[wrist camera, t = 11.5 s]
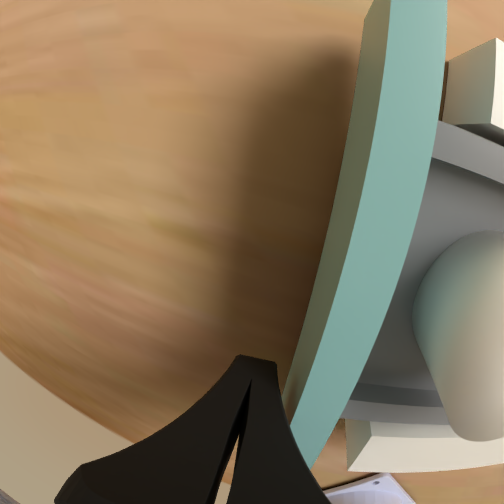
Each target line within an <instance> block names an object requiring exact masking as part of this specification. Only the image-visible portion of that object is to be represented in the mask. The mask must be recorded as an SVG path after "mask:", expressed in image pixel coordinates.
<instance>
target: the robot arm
mask: <svg viewBox="0 0 504 504" xmlns="http://www.w3.org/2000/svg"><path fill="white" fill-rule="evenodd" d="M238 436H239V440H238V447H237V453H236V460H235V467H234V473H233V479H232V484H231V489H230V492H229V496H228V500H227V503H226V504H416V503H415V502H414V501H413V499H412V498H411V497H410V496H409V495H408V494H407V493H406V492H405V490H404V489H403V488H402V487H401V486H400V485H399V484H398V482H397V481H396V480H395V479H394V478H393V477H392V476H391V474H389V473H386V472H383V473H379V474H377V475H374V476H371V477H368V478H365V479H362V480H359V481H356V482H353V483H349V484H346V485H343V486H339V487H336V488H332V489H328V490H324V491H322V489H321V487H320V486H319V484H318V483H317V481H316V479H315V478H314V476H313V475H312V473H311V471H310V470H309V468H308V466H307V464H306V462H305V460H304V458H303V456H302V454H301V452H300V450H299V448H298V445H297V443H296V441H295V438H294V436H293V433H292V431H291V428H290V425H289V422H288V419H287V416H286V413H285V409H284V406H283V402H282V398H281V394H280V389H279V383H278V376H277V364H276V363H275V362H273V361H268V360H263V359H259V358H254V357H250V356H245V355H241V354H240V355H238V356H236V358H235V360H234V361H233V363H232V364H231V366H230V367H229V368H228V370H227V371H226V372H225V373H224V375H223V376H222V377H221V378H220V379H219V380H218V381H217V383H216V384H215V385H214V386H213V387H212V388H211V389H210V390H209V391H208V392H207V393H206V394H205V395H204V396H203V397H202V398H201V399H200V400H198V401H197V402H196V403H195V404H194V405H193V406H192V407H191V408H190V409H188V410H187V411H186V412H185V413H183V414H182V415H181V416H179V417H178V418H177V419H175V420H174V421H173V422H171V423H170V424H168V425H167V426H165V427H164V428H162V429H161V430H159V431H157V432H156V433H154V434H153V435H151V436H149V437H147V438H146V439H144V440H142V441H140V442H138V443H136V444H134V445H132V446H129V447H128V448H125V449H123V450H121V451H119V452H116V453H114V454H111V455H109V456H106V457H103V458H100V459H97V460H95V461H91V462H88V463H85V464H82V465H80V467H78V468H77V469H76V471H74V473H73V474H72V475H71V476H70V477H69V478H68V479H67V480H66V482H65V483H64V485H63V486H62V488H61V490H60V491H59V493H58V494H57V496H56V497H55V499H54V503H55V504H214V503H215V499H216V496H217V492H218V489H219V486H220V483H221V480H222V477H223V474H224V471H225V469H226V466H227V464H228V461H229V459H230V456H231V454H232V451H233V449H234V446H235V443H236V441H237V438H238ZM0 504H20V503H18V502H17V501H15V500H14V499H13V498H11V497H10V496H9V495H7V494H6V493H5V492H4V491H2V490H1V489H0Z"/></svg>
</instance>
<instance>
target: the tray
mask: <svg viewBox="0 0 504 504" xmlns="http://www.w3.org/2000/svg"><path fill="white" fill-rule="evenodd" d="M446 35H447V0H374V1H373V3H372V5H371V7H370V9H369V11H368V13H367V15H366V17H365V20H364V27H363V35H362V43H361V51H360V58H359V66H358V73H357V79H356V86H355V92H354V99H353V105H352V111H351V117H350V122H349V128H348V134H347V139H346V145H345V150H344V155H343V160H342V165H341V170H340V175H339V180H338V185H337V190H336V194H335V199H334V204H333V208H332V213H331V217H330V222H329V226H328V230H327V235H326V239H325V243H324V247H323V251H322V255H321V259H320V263H319V267H318V271H317V275H316V279H315V283H314V287H313V291H312V295H311V298H310V302H309V306H308V309H307V313H306V317H305V320H304V324H303V327H302V331H301V334H300V338H299V341H298V345H297V348H296V351H295V355H294V358H293V361H292V365H291V368H290V371H289V375H288V378H287V381H286V384H285V387H284V390H283V394H282V397H281V398H282V402H283V406H284V409H285V413H286V416H287V419H288V422H289V425H290V428H291V431H292V433H293V436H294V438H295V441H296V443H297V445H298V448H299V450H300V452H301V454H302V456H303V458H304V460H305V462H306V464H307V466H308V468H309V470H310V469H311V468H312V466H313V464H314V463H315V461H316V459H317V457H318V456H319V454H320V452H321V451H322V449H323V447H324V445H325V444H326V442H327V440H328V438H329V436H330V435H331V433H332V431H333V429H334V427H335V425H336V423H337V421H338V420H339V418H344V419H352V420H362V421H373V422H385V423H401V424H427V425H450V423H449V420H448V417H447V415H446V412H445V409H444V406H443V404H442V401H441V399H440V396H439V393H438V391H437V388H436V386H435V383H434V381H433V378H432V376H431V373H430V371H429V369H428V366H427V364H426V362H425V359H424V357H423V355H422V352H421V350H420V348H419V346H418V343H417V341H416V338H415V336H414V332H413V327H412V312H413V305H414V300H415V297H416V294H417V291H418V289H419V286H420V284H421V282H422V280H423V278H424V276H425V275H426V273H427V271H428V270H429V268H430V267H431V265H432V264H433V263H434V262H435V260H436V259H437V258H438V257H439V256H440V255H441V254H442V253H443V252H444V251H445V250H446V249H447V248H448V247H449V246H451V245H452V244H453V243H455V242H456V241H458V240H459V239H461V238H463V237H465V236H467V235H469V234H472V233H475V232H479V231H484V230H497V231H501V232H504V147H502V146H500V145H498V144H496V143H494V142H491V141H489V140H487V139H485V138H482V137H480V136H478V135H475V134H473V133H470V132H468V131H466V130H463V129H461V128H458V127H455V126H453V125H450V124H448V123H445V122H442V121H439V120H438V116H439V110H440V102H441V94H442V86H443V76H444V66H445V53H446Z"/></svg>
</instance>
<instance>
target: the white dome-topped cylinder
mask: <svg viewBox="0 0 504 504" xmlns="http://www.w3.org/2000/svg"><path fill="white" fill-rule="evenodd" d="M412 327H413V332H414V336H415V338H416V341H417V343H418V346H419V348H420V350H421V352H422V355H423V357H424V359H425V362H426V364H427V366H428V369H429V371H430V373H431V376H432V378H433V381H434V383H435V386H436V388H437V391H438V393H439V396H440V399H441V401H442V404H443V406H444V409H445V412H446V415H447V417H448V420H449V423H450V426H451V428H452V429H453V431H454V432H455V433H456V434H457V435H458V436H459V437H461V438H462V439H465V440H468V441H474V442H485V441H491V440H495V439H499V438H502V437H504V232H501V231H497V230H484V231H479V232H475V233H472V234H469V235H467V236H465V237H463V238H461V239H459V240H458V241H456V242H455V243H453V244H452V245H451V246H449V247H448V248H447V249H446V250H445V251H444V252H443V253H442V254H441V255H440V256H439V257H438V258H437V259H436V260H435V262H434V263H433V264H432V265H431V267H430V268H429V270H428V271H427V273H426V275H425V276H424V278H423V280H422V282H421V284H420V286H419V289H418V291H417V294H416V297H415V300H414V305H413V312H412Z"/></svg>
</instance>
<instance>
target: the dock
mask: <svg viewBox="0 0 504 504" xmlns="http://www.w3.org/2000/svg"><path fill="white" fill-rule="evenodd" d="M442 122H445V123H448V124H450V125H453V126H455V127H458V128H461V129H463V130H466V131H468V132H470V133H473V134H475V135H478V136H480V137H482V138H485V139H487V140H489V141H491V142H494V143H496V144H498V145H500V146H502V147H504V42H503V41H501V40H499V39H497V38H494V39H492V40H490V41H488V42H486V43H484V44H482V45H479V46H477V47H475V48H473V49H471V50H469V51H467V52H465V53H463V54H461V55H459V56H457V57H455V58H453V59H451V60H449V67H448V78H447V88H446V96H445V104H444V111H443V118H442ZM345 429H346V449H347V471H357V472H386V473H402V472H431V471H446V470H457V469H466V468H474V467H482V466H488V465H494V464H500V463H504V437H502V438H499V439H495V440H491V441H485V442H474V441H468V440H465V439H462V438H461V437H459V436H458V435H457V434H456V433H455V432H454V431H453V429H452V428H451V426H450V425H427V424H401V423H385V422H373V421H362V420H352V419H345Z"/></svg>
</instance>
